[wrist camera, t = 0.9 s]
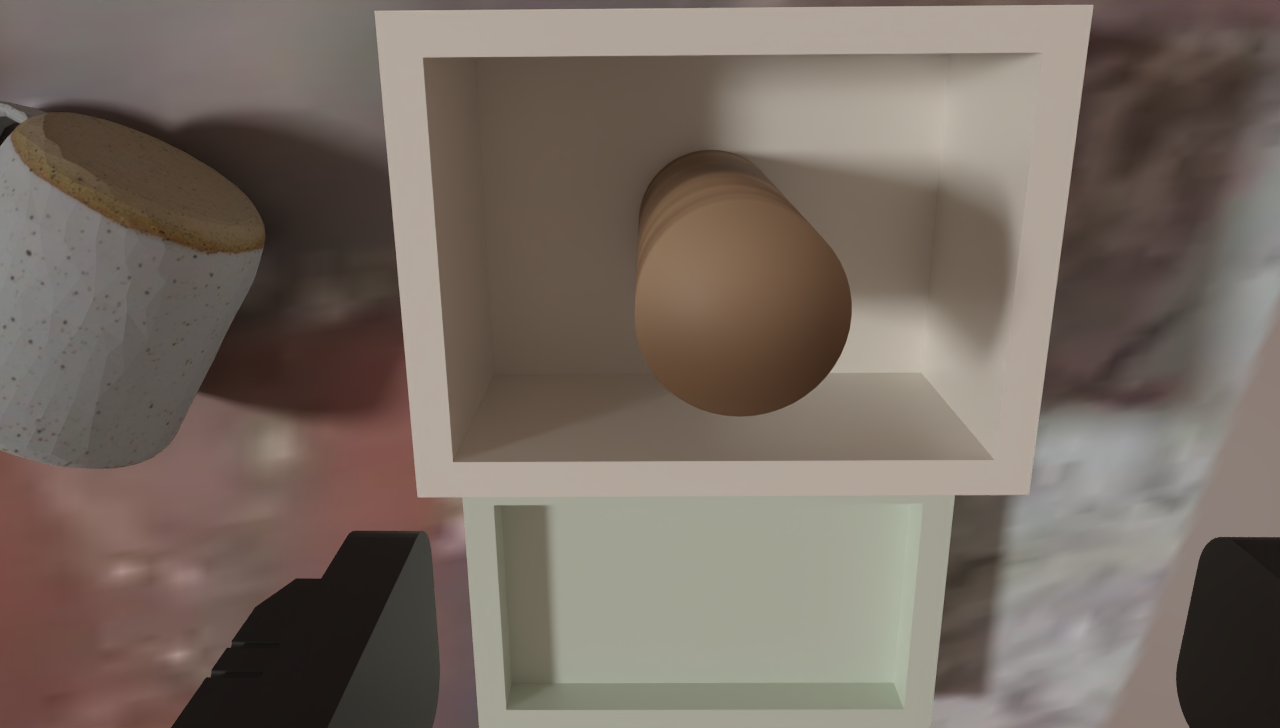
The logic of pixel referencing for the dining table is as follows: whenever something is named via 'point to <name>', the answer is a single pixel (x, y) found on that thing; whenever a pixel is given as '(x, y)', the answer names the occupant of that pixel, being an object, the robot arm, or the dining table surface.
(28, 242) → the grey cylinder
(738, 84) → the cream open box
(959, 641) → the dining table surface
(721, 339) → the walnut pepper mill
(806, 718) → the sage tray
